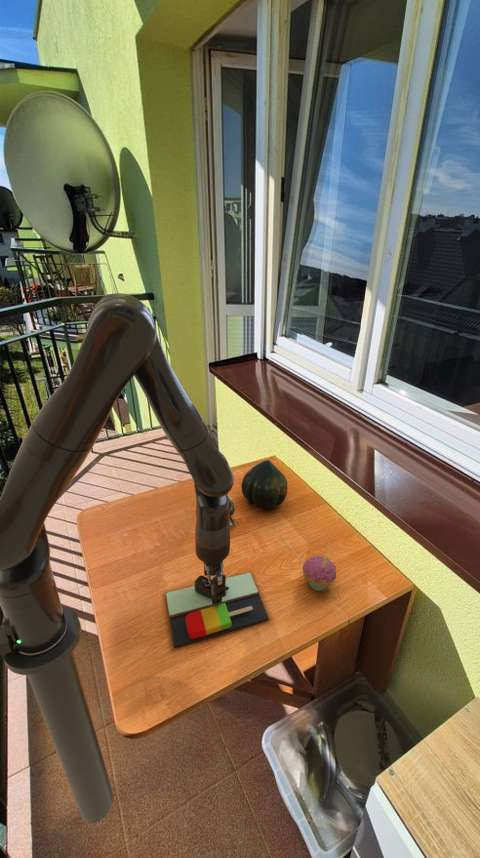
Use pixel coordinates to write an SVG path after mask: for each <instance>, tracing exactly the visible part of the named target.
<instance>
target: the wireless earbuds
mask: <svg viewBox="0 0 480 858" xmlns="http://www.w3.org/2000/svg"><path fill="white" fill-rule="evenodd" d="M193 582H194V586H195V592H197V593H199V594H201V595H203V596H205V597H207V598H210V599H212V593H211V591H212V590H211V584H209V582H208V577H207V576H205V575H198V577H197V578H196V579H195V580H194V581H193ZM228 589H229V587H228V586H227V587H226V590H228Z"/></svg>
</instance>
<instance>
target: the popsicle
mask: <svg viewBox="0 0 480 858" xmlns="http://www.w3.org/2000/svg"><path fill="white" fill-rule="evenodd" d="M251 610H253V607H252V606H249V607H246V608H242V609H239V610H235V611H232V612H229V613H228V610H227V607H226V604H225V603H224V604H220V605H217V606H213V607H210V608H206V609H203V610H199V611H196V612H192V613H189V614H188V615H187V616H186V626H187V631H188V635H189V637H190V638H192V639H195V638H198V637H202V636H205V635H208V634H211V633H214V632H218V631H221V630H224V629H227V628H230V627H231V625H232V623H231V619H230V617H231V616H234V615H238V614H241V613H244V612H248V611H251Z"/></svg>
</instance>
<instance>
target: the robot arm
mask: <svg viewBox="0 0 480 858" xmlns="http://www.w3.org/2000/svg"><path fill="white" fill-rule="evenodd" d="M133 377H134V379H135V380H136V382H137V383H138V385H139V387H140V388H141V390H142V392H143V394H144V396H145V398H146V400H147V402H148V404H149V406H150V408H151V410H152V412H153V414H154V416H155V418H156V420H157V422H158V424H159V426H160V428H161V430H162V431H163V433H164V434H165V436H166V437H167V439H168V441H169V442H170V444H171V445H172V446H173V448H174V449H175V450H176V452H177V453H178V455H179V456H180V457H181V459H182V461H183V462H184V464H185V467H186V468H187V470H188V472H189V474H190V476H191V478H192V481H193V487H194V493H195V527H194V539H195V540H194V542H195V543H194V544H195V556H196V557H197V559H198V560H200V561H201V562H202V563H203V575H204V577H207V578H208V582H209V584H211V590H212V591H211V593H212V604H218V603H221V602H222V597H225V596H226V578H227V577H226V574H224V560H226V559H227V558H228V556H229V555H230V551H231V527H230V521H229V519H230V504H229V499H228V496H229V495H228V494H229V493H230V492H231V491H232V489H233V486H234V482H235V476H234V473H233V471H232V468H231V466H230V463H229V462H228V460H227V458H226V456H225V455H224V454H223V453H222V451H219V449H218V447H217V446H216V444H215V441H214V438H213V435H212V433H211V431H210V429H209V427H208V425H207V424H206V422H205V421H204V418H203V417H202V415H201V413H200V412H199V410H198V408H197V407H196V406H195V403H194V402H193V401H192V399H191V398H190V395H189V394H188V393H187V391H186V389H185V387H184V386H183V385H182V383H181V382H180V380H179V377H178V376H177V375H176V373H175V371H174V369H173V367H172V365H171V363H170V361H169V359H168V358H167V355H166V353H165V351H164V349H163V347H162V344H161V340H160V339H159V336H158V333H157V328H156V324H155V319H154V317H153V315H152V313H151V311H150V309H149V308H148V307H147V305H146V304H144V302H143V301H141V300H140V299H138V298H137V297H135V296H133V295H131V294H126V293H122V292H116V293H109V294H107V295H104V296H103V297H102V298H101V299H100V300H98V301H97V302H96V304H95V306H94V307H93V309H92V311H91V313H90V316H89V319H88V322H87V325H86V330H85V333H84V336H83V338H82V341H81V344H80V347H79V349H78V352H77V355H76V357H75V359H74V361H73V364H72V366H71V368H70V370H69V372H68V373H67V376H66V377H65V379H64V380H63V381H62V383H60V385H59V387H58V388H57V389H56V390H55V391H54V392H53V393H52V394H51V395H50V397H49V398H48V399H47V400H46V402H45V403H44V404H43V405H42V407H41V409H40V410H39V411H38V413H37V415H36V416H35V417H34V419H33V421H32V424H30V426H29V429H28V431H27V432H26V434H25V436H24V438H23V440H22V442H21V445H20V447H19V449H18V451H17V453H16V456H15V458H14V460H13V464H12V466H11V468H10V471H9V474H8V477H7V479H6V482H5V486H4V488H3V491H2V493H1V496H0V608H1V611H2V613H3V618H2V622H1V624H0V656H2V655H3V654H7V653H11V652H12V651H13V654H14V655H17V654H21V655H23V656H27V657H34V656H39V655H42V654H45V653H47V652H49V651H50V650H52V649H54V648H55V647H56V646H57V645H58V644H59V643H60V642H61V641H62V640H63V638H64V637H65V635H66V633H67V628H68V626H67V622H66V619H65V616H64V613H63V609H62V606H63V605H62V602H61V598H60V594H59V591H58V588H57V583H56V580H55V576H54V572H53V568H52V566H51V547H50V542H49V537H48V533H47V528H46V523H45V522H46V520H47V518H48V516H49V514H50V512H51V511H52V509H53V508H54V506H55V504H57V502H58V501H59V499H60V498H61V497H62V496H63V494H64V492H65V491H66V490H67V488H68V486H69V485H70V484H71V482H73V479H74V478H75V477H76V475H77V473H78V472H79V471H80V469H81V468H82V466H83V464H84V463H85V461H86V459H87V458H88V457H89V455H90V453H91V452H92V449H93V447H94V446H95V444H96V442H97V440H98V438H99V437H100V434H101V432H102V431H103V429H104V426H105V425H106V423H107V421H108V419H109V417H110V414H111V412H112V409H113V408H114V406H115V403H116V401H117V400H118V398H119V396H120V395H121V393H122V392H123V390H125V388H126V387H127V385H128V384H129V383H130V381H131V380H132V379H133ZM227 495H228V496H227Z"/></svg>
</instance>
